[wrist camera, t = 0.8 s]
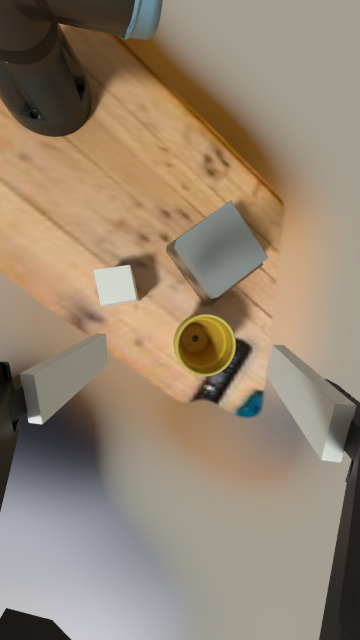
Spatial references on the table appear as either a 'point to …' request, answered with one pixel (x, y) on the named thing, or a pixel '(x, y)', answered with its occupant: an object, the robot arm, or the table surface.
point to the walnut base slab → (190, 276)
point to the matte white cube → (116, 285)
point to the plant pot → (204, 344)
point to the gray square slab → (220, 250)
